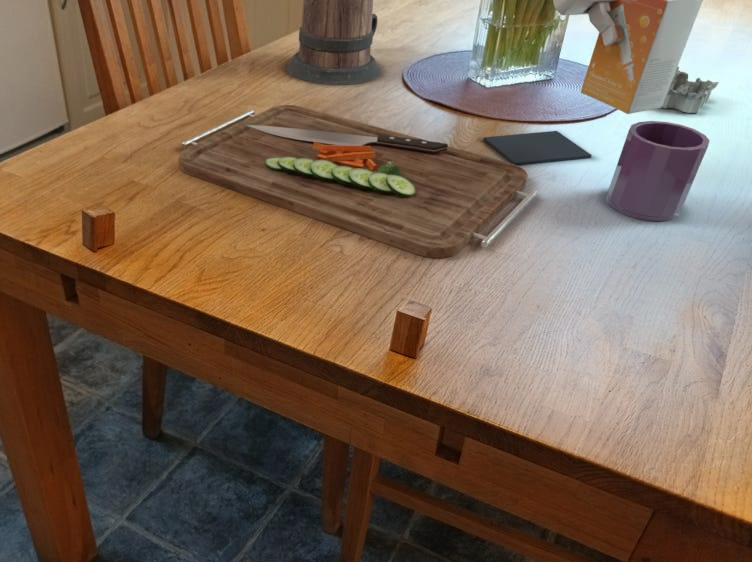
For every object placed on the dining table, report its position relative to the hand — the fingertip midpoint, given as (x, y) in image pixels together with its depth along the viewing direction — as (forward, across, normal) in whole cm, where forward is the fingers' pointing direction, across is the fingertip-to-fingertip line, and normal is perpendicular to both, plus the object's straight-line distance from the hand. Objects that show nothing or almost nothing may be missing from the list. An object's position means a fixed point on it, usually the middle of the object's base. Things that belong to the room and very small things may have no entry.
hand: (644, 41), depth 87 cm
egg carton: (-2, +29, +26) cm, 39 cm away
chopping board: (+7, -34, +16) cm, 39 cm away
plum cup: (+19, -1, +4) cm, 19 cm away
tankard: (-24, -20, +48) cm, 57 cm away
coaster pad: (+6, -5, +18) cm, 19 cm away
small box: (+5, 0, +6) cm, 8 cm away
